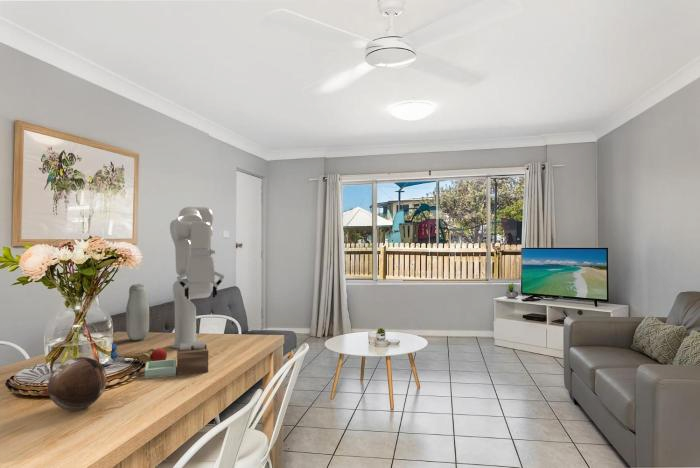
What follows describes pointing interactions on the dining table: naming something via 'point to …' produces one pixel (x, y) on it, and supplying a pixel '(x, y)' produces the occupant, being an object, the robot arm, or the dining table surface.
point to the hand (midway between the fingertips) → (200, 297)
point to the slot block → (192, 361)
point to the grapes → (113, 353)
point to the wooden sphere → (77, 383)
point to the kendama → (150, 355)
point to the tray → (160, 368)
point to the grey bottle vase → (137, 313)
